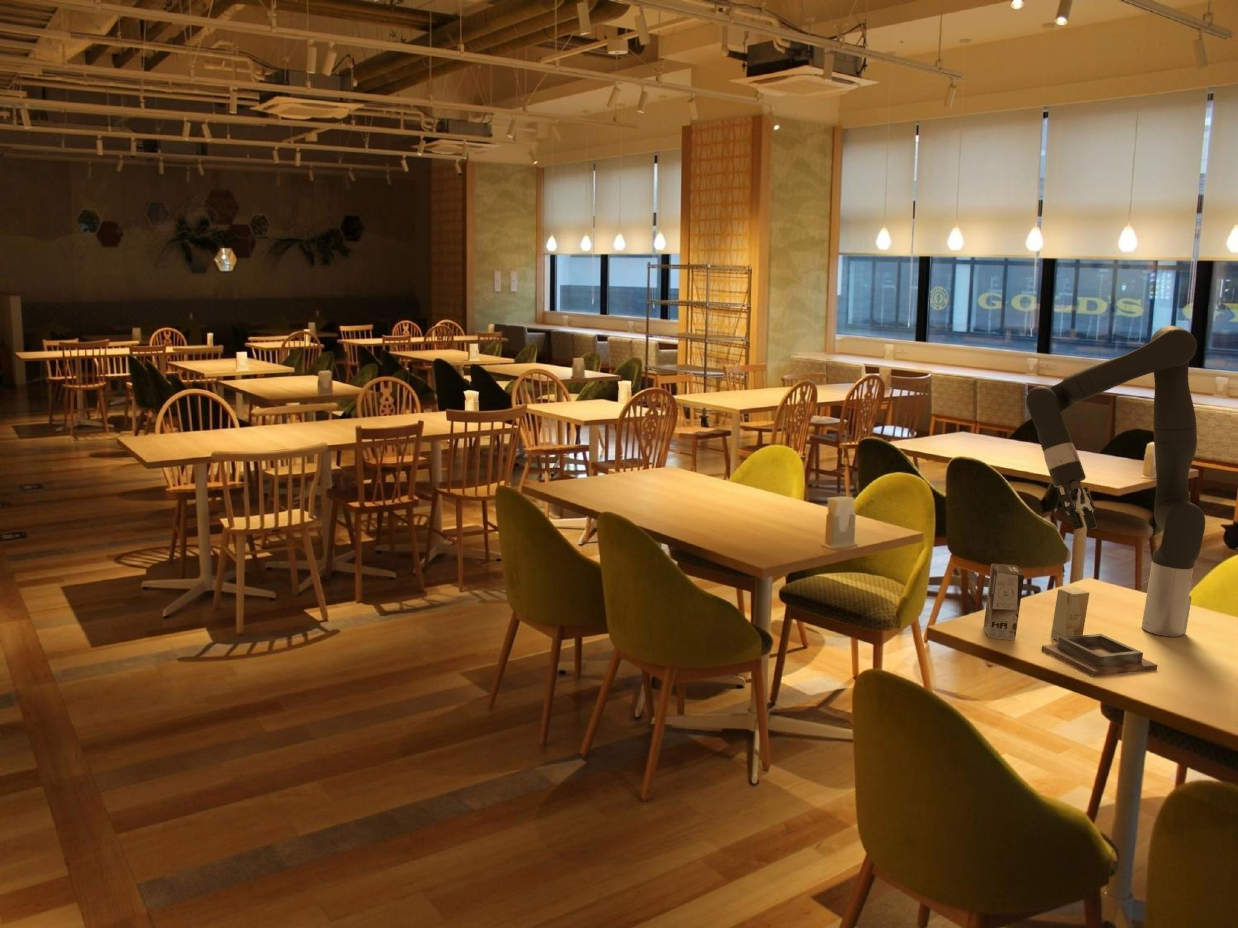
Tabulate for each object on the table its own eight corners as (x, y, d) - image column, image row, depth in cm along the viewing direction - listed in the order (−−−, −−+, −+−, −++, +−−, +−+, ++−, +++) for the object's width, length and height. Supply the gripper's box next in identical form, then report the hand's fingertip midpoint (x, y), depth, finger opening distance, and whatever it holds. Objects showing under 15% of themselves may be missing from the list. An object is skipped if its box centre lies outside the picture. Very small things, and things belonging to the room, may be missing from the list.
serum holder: (1102, 644, 254) (1104, 630, 253) (1156, 669, 239) (1159, 654, 238) (1041, 650, 247) (1043, 635, 247) (1093, 676, 233) (1096, 660, 232)
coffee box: (1016, 641, 253) (1025, 575, 250) (987, 637, 254) (996, 572, 251) (1010, 628, 261) (1018, 565, 258) (982, 625, 263) (991, 562, 260)
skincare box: (1064, 643, 253) (1071, 594, 250) (1049, 637, 256) (1056, 588, 254) (1083, 640, 256) (1090, 591, 253) (1068, 634, 259) (1075, 586, 257)
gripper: (1067, 458, 254) (1090, 524, 250) (1089, 460, 264) (1112, 523, 260) (1037, 469, 259) (1059, 533, 254) (1060, 470, 269) (1082, 532, 265)
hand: (1086, 528), depth 257 cm, fingers open, 8 cm apart
